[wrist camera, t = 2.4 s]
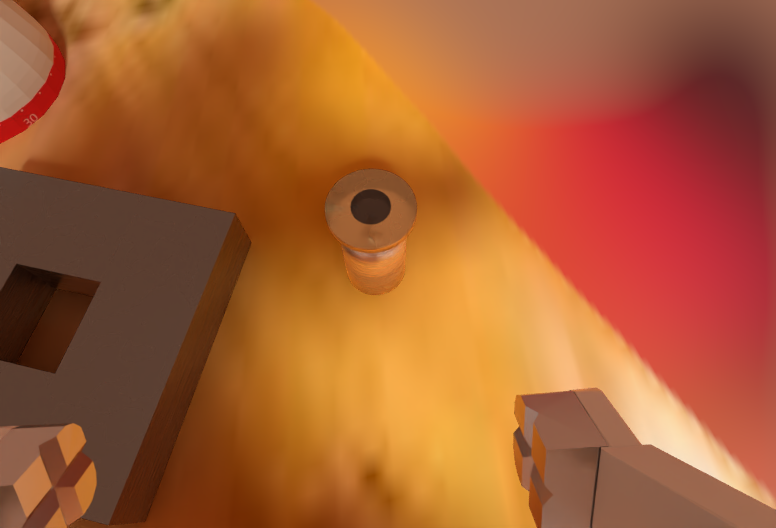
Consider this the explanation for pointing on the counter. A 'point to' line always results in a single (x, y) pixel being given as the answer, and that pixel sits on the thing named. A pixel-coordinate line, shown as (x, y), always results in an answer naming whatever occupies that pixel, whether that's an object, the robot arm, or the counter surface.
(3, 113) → the kitchen timer
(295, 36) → the counter surface
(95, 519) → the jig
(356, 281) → the bushing
